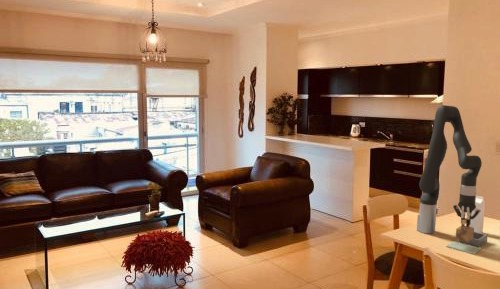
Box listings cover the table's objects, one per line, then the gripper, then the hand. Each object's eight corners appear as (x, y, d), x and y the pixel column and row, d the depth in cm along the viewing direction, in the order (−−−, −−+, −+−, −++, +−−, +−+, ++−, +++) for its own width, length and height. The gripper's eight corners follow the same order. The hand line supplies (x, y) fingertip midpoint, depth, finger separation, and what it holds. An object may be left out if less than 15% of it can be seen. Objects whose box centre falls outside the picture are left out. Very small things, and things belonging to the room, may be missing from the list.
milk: (478, 234, 239) (481, 198, 236) (467, 231, 244) (470, 195, 241) (482, 232, 243) (485, 196, 240) (472, 229, 248) (475, 194, 244)
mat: (446, 246, 221) (446, 245, 221) (453, 242, 227) (453, 241, 227) (474, 254, 210) (474, 253, 210) (481, 249, 217) (481, 248, 217)
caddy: (455, 239, 218) (456, 219, 216) (461, 235, 223) (462, 216, 222) (467, 242, 213) (469, 222, 212) (473, 238, 219) (474, 219, 217)
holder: (458, 242, 227) (459, 235, 227) (467, 236, 236) (467, 230, 235) (478, 247, 220) (479, 240, 219) (487, 241, 228) (487, 234, 227)
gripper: (451, 192, 217) (449, 223, 220) (479, 197, 207) (476, 230, 210) (457, 189, 222) (454, 220, 225) (484, 194, 212) (482, 226, 215)
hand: (465, 225), depth 217 cm, fingers closed on caddy, 1 cm apart
